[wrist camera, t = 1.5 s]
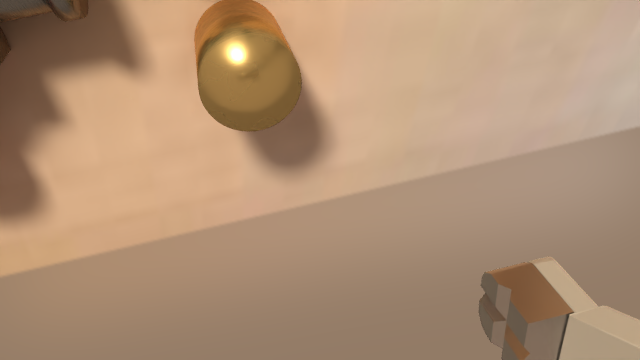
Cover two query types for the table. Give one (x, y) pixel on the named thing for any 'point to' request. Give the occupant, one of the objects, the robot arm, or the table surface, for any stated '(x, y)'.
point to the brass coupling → (245, 66)
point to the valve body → (13, 3)
